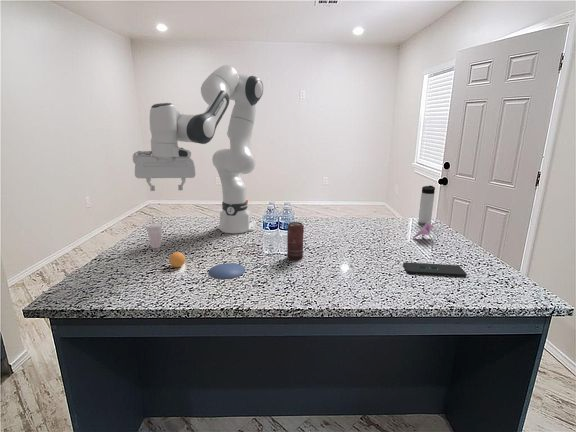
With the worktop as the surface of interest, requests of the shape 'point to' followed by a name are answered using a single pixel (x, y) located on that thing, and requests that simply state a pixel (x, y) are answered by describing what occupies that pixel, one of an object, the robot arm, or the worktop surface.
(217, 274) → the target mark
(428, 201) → the travel mug
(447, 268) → the smart home device
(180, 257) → the ball
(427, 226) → the pink bird figurine
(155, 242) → the smoothie
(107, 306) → the worktop surface
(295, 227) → the can
